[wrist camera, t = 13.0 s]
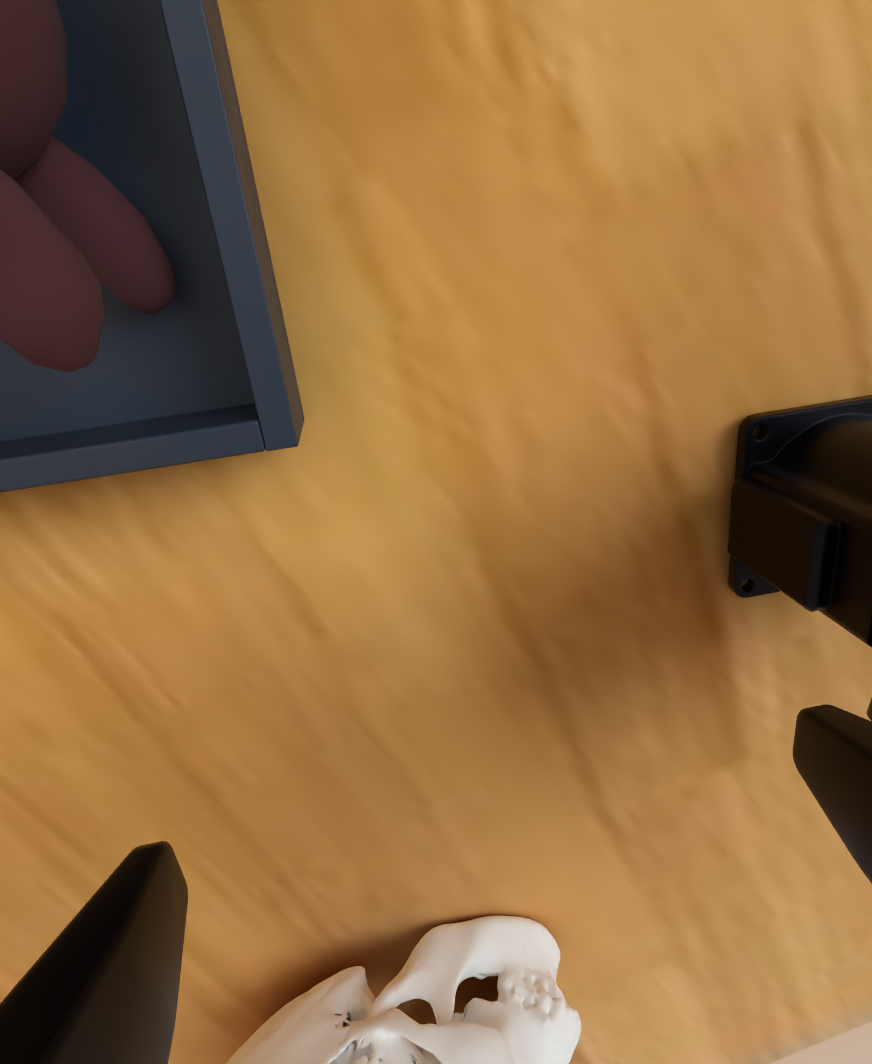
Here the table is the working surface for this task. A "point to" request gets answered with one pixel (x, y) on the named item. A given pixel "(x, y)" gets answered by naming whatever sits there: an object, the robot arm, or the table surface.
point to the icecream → (60, 210)
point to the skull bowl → (434, 1006)
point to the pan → (193, 248)
